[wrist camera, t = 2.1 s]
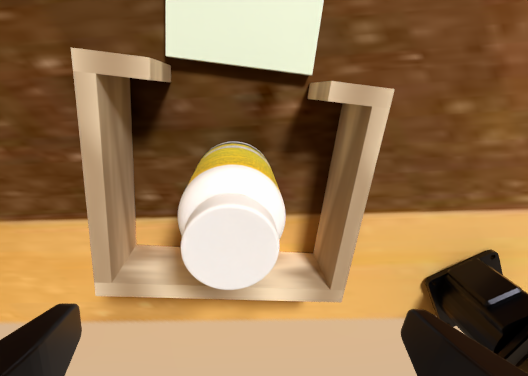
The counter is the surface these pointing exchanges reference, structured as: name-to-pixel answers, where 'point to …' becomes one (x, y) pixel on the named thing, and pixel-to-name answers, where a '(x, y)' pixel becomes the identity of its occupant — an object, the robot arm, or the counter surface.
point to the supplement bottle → (231, 218)
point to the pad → (245, 33)
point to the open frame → (169, 258)
